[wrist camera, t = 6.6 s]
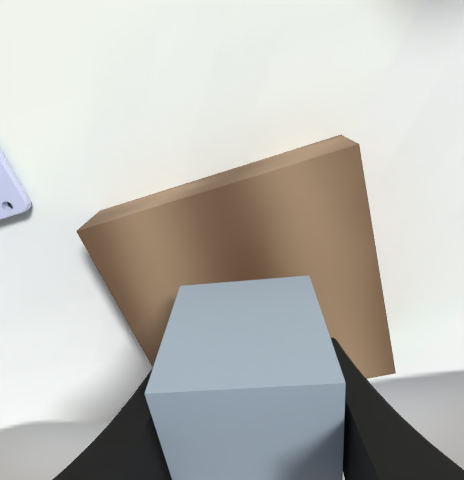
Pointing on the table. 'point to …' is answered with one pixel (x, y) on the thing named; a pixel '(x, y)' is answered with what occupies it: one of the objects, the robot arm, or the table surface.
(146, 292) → the walnut block
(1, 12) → the table surface
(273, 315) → the slate cube
